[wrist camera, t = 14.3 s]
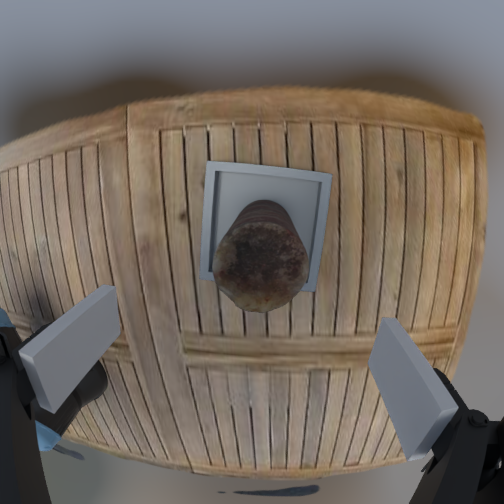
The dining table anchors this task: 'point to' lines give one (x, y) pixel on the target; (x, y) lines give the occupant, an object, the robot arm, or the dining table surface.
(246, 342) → the dining table surface
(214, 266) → the brown rough cylinder
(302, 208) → the tray
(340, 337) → the dining table surface
